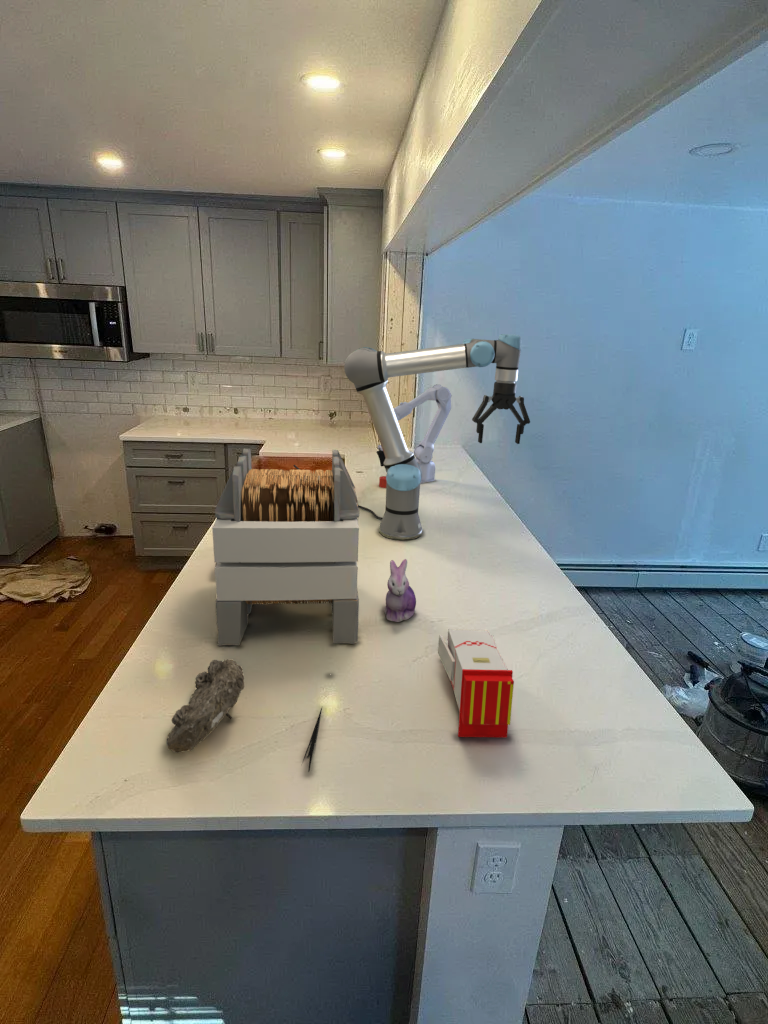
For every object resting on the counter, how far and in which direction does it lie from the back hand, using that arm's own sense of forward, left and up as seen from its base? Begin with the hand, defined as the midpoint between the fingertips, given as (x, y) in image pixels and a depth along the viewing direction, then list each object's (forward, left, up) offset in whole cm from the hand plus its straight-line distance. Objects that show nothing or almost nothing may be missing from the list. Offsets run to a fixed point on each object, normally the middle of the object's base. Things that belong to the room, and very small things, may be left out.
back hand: (387, 468), depth 258 cm
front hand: (-2, +64, +25) cm, 69 cm away
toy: (+72, +133, -6) cm, 152 cm away
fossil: (+120, +113, -6) cm, 165 cm away
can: (+6, +6, -6) cm, 10 cm away
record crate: (+89, +84, -6) cm, 123 cm away
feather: (+103, +124, -6) cm, 161 cm away
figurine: (+66, +100, -6) cm, 120 cm away
